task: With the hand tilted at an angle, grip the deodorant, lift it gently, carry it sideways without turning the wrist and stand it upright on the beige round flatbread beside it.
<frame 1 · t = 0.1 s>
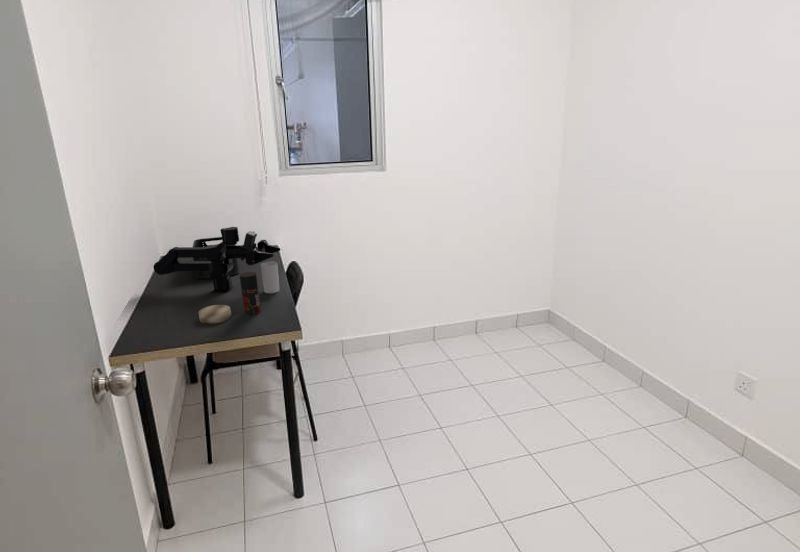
hand: (276, 252, 204), 17 cm above the table, tool horizontal, fingers open, 9 cm apart
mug: (272, 290, 209), on the table
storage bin: (218, 270, 240), on the table
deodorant: (252, 312, 185), on the table
beige round flatbread: (215, 317, 181), on the table
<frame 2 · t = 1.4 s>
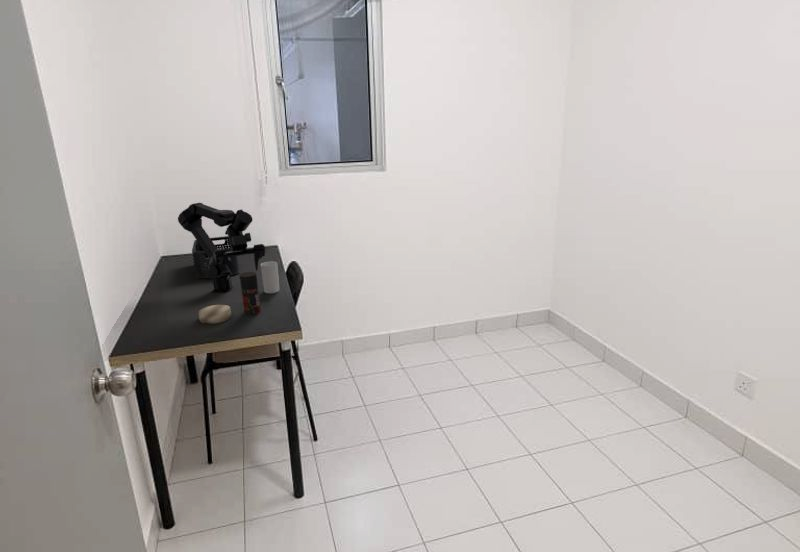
hand: (244, 272, 188), 14 cm above the table, tool tilted 45°, fingers open, 9 cm apart
nothing on the table moved.
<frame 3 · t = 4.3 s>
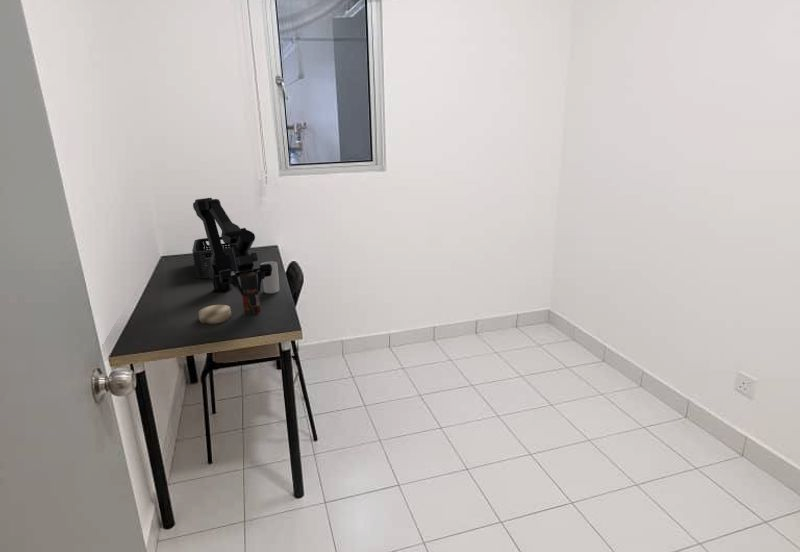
hand: (250, 293, 182), 8 cm above the table, tool tilted 45°, fingers closed on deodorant, 6 cm apart
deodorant: (252, 312, 185), on the table, touching gripper
everything else where it was.
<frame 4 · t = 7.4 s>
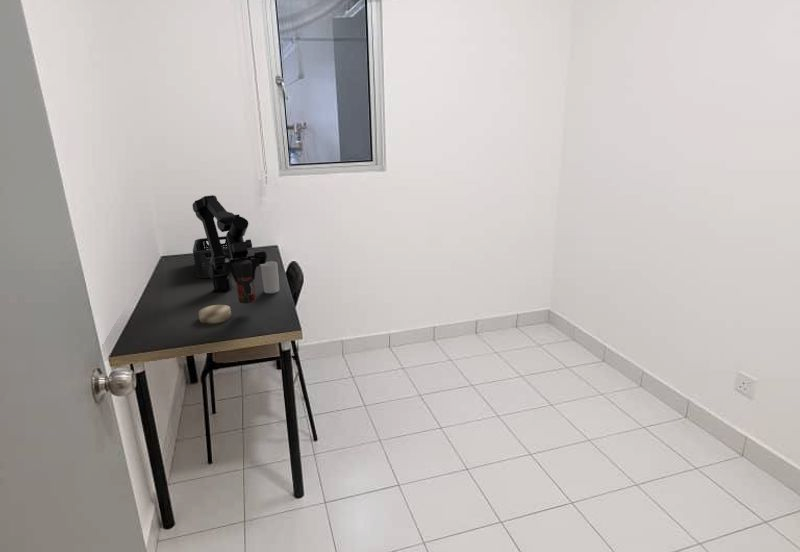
hand: (245, 280, 180), 13 cm above the table, tool tilted 45°, fingers closed on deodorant, 6 cm apart
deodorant: (247, 300, 184), point 5 cm above the table, touching gripper
everything else where it was.
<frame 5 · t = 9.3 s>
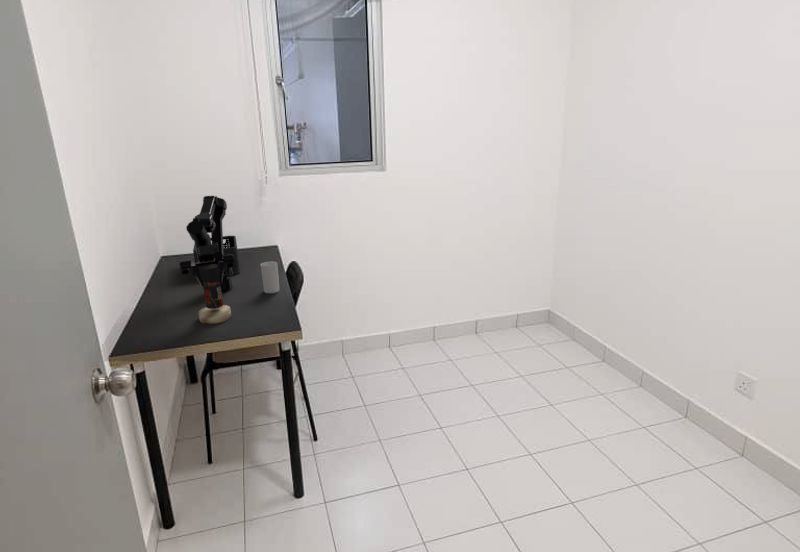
hand: (211, 284, 176), 13 cm above the table, tool tilted 45°, fingers closed on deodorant, 6 cm apart
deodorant: (214, 306, 180), point 4 cm above the table, touching gripper
everything else where it was.
when the fingers open (12 cm above the table, at t = 10.7 s): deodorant stays where it is, resting on beige round flatbread.
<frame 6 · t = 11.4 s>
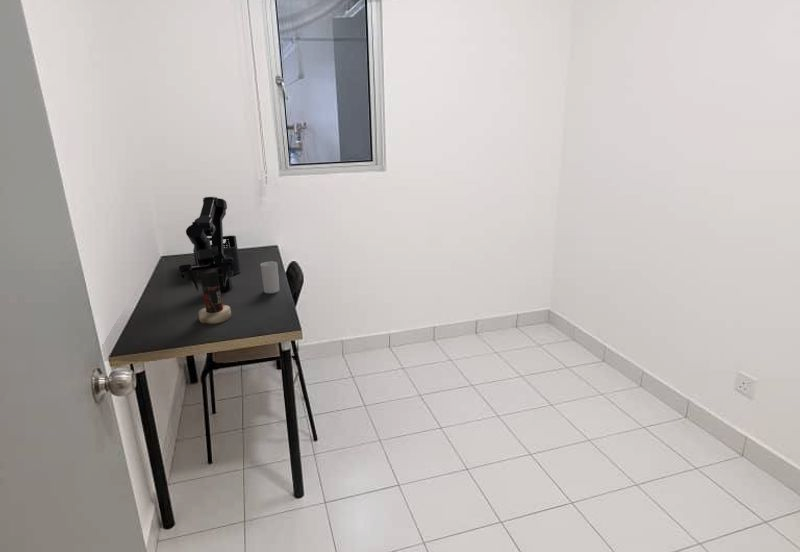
hand: (211, 288, 176), 12 cm above the table, tool tilted 45°, fingers open, 9 cm apart
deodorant: (214, 310, 180), point 3 cm above the table, touching beige round flatbread
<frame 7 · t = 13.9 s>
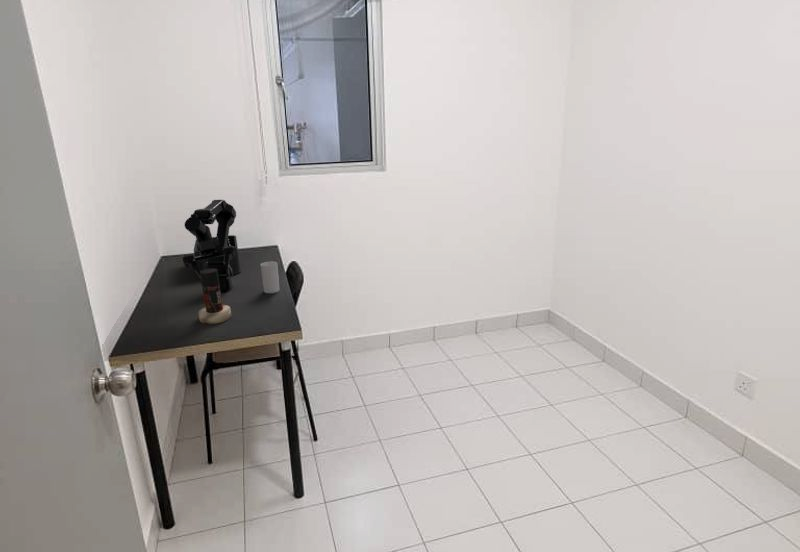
hand: (215, 276, 186), 13 cm above the table, tool tilted 35°, fingers open, 9 cm apart
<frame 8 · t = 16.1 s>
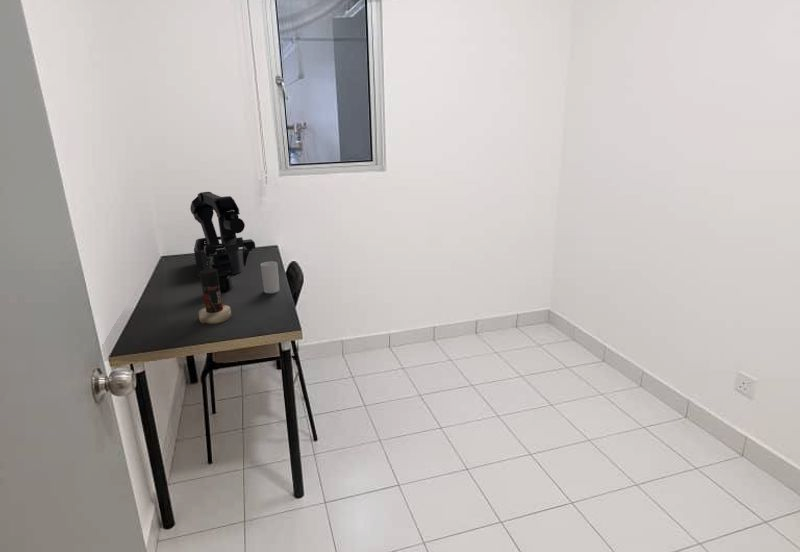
hand: (232, 267, 196), 13 cm above the table, tool pointing down, fingers open, 9 cm apart
at the end: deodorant 0.2 cm from the beige round flatbread (horizontally); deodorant point 2.8 cm above the table; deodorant tilted 0° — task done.
